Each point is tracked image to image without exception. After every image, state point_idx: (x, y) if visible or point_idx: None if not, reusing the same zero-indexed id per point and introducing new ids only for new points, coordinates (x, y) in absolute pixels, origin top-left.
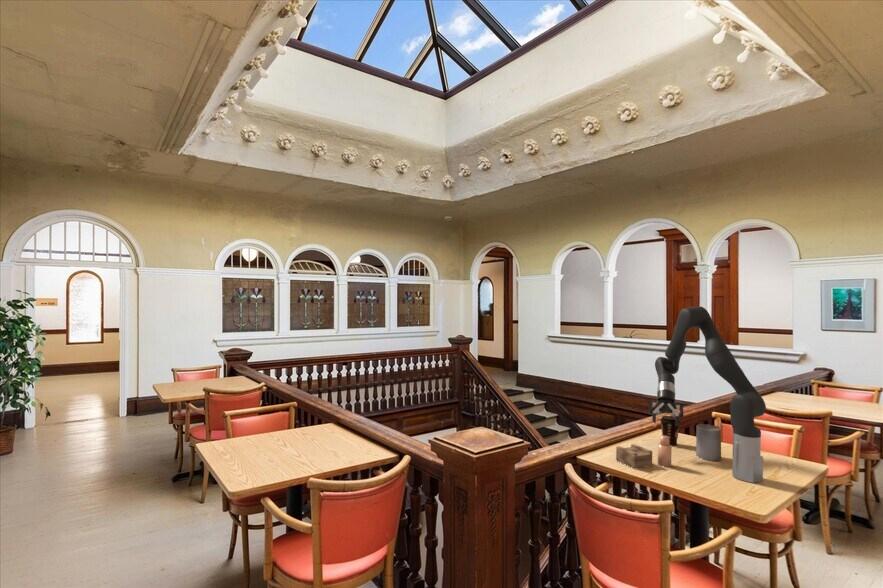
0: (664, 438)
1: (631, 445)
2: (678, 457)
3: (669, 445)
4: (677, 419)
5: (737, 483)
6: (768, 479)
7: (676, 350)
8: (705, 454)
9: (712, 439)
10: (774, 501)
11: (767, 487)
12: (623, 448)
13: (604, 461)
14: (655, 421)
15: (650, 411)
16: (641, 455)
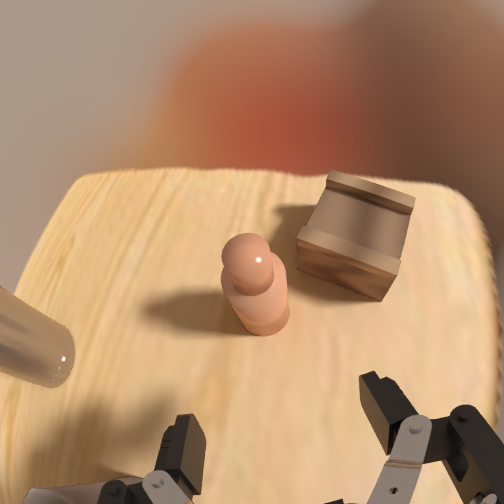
0: (244, 236)
1: (397, 262)
2: (239, 452)
3: (231, 282)
4: (169, 454)
5: (73, 296)
6: None
7: None
8: (135, 482)
9: (70, 486)
10: (43, 242)
11: None
12: (387, 193)
13: (416, 204)
14: (359, 376)
15: (452, 413)
16: (320, 202)
